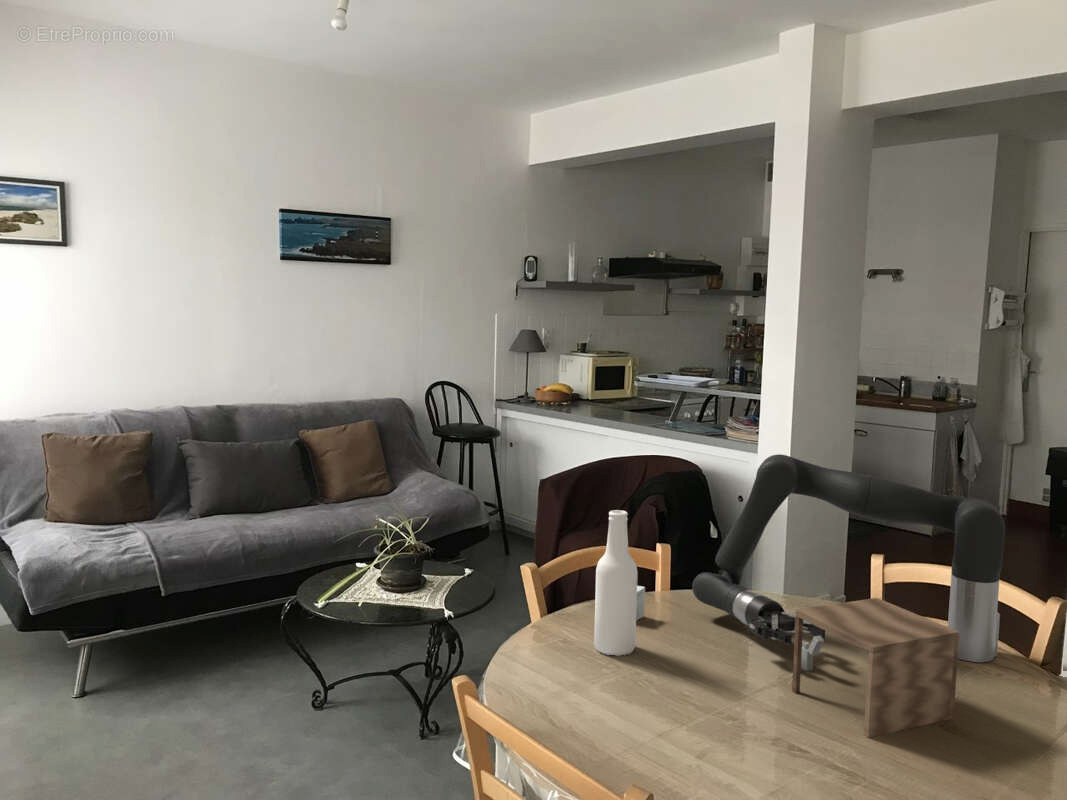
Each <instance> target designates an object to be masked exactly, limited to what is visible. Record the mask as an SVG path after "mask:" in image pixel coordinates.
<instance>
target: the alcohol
mask: <svg viewBox="0 0 1067 800" xmlns="http://www.w3.org/2000/svg"><path fill="white" fill-rule="evenodd" d="M628 515H629V513H628V512H627V511H626V510H621V509H620V510H619V509H615V510H613V509H612V510H609V512H608V516H609V517H608V528H607V529H608V530H607V539H606V547H605V552H604V554H603V555H602V557H601V558H599V560H598V561H597V565H596V569H595V599H594V601H595V602H594V632H593V633H594V637H593V640H594V641H593V643H594V647H595V648H596V651H597V650H598V651H599V653H600V652H601V653H600V654H602V653H603V655H605V654H606V656H609V655H615V656H614V657H621V655H624V656H627V655H626V654H628V655H630V654H632V653H633V651H634V649H636V637H637V635H636V634H637V633H636V632H637V621H636V607H637V586H638V574H639V573H638V572H639V571H638V568H637V563H636V561H635V560H634V559H633V558H632V556H631V555H630V550H629V537H628V520H629V518H628ZM598 651H597V652H598Z"/></svg>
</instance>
